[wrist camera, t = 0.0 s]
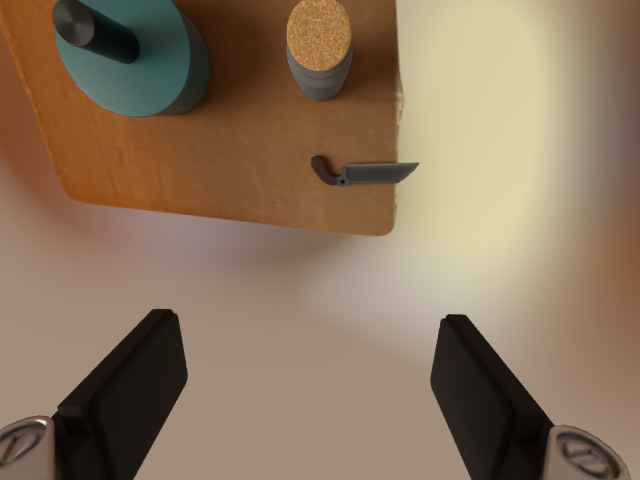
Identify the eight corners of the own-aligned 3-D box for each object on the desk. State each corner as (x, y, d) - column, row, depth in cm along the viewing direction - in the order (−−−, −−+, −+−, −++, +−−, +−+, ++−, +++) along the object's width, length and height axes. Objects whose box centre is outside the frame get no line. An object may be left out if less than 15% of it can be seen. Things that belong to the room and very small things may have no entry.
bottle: (295, 100, 36) (277, 76, 22) (296, 44, 34) (279, -20, 20) (342, 103, 36) (355, 82, 22) (346, 48, 34) (364, -14, 20)
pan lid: (47, -33, 27) (-43, -89, 21) (185, -31, 27) (141, -85, 21) (82, 116, 31) (17, 111, 25) (201, 118, 31) (169, 114, 25)
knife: (311, 186, 40) (311, 187, 39) (310, 155, 38) (310, 155, 38) (416, 183, 39) (418, 184, 39) (419, 152, 38) (420, 152, 37)
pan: (99, 1, 33) (48, -30, 27) (204, 3, 33) (177, -28, 27) (121, 115, 37) (81, 111, 31) (215, 117, 37) (194, 113, 31)
